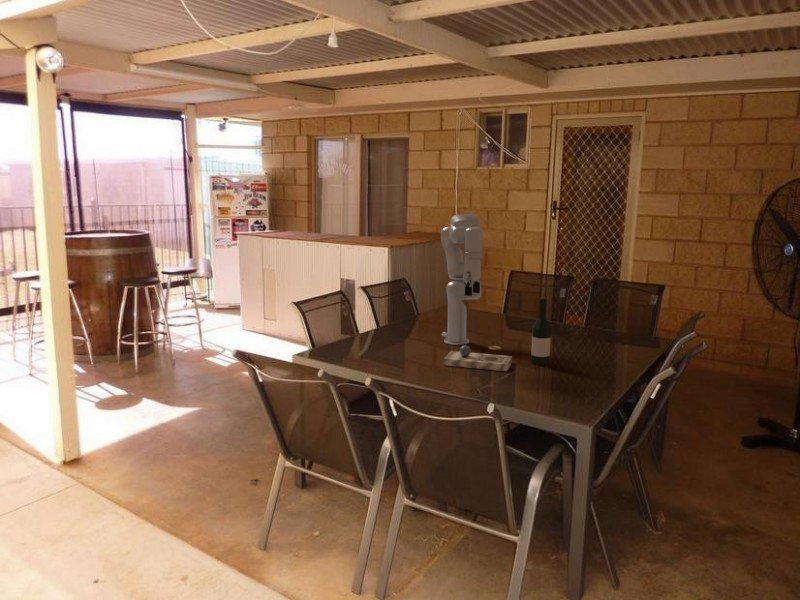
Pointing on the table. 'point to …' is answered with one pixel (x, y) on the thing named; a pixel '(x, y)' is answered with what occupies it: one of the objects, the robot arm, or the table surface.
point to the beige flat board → (478, 361)
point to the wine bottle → (541, 337)
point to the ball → (465, 350)
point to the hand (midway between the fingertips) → (472, 294)
